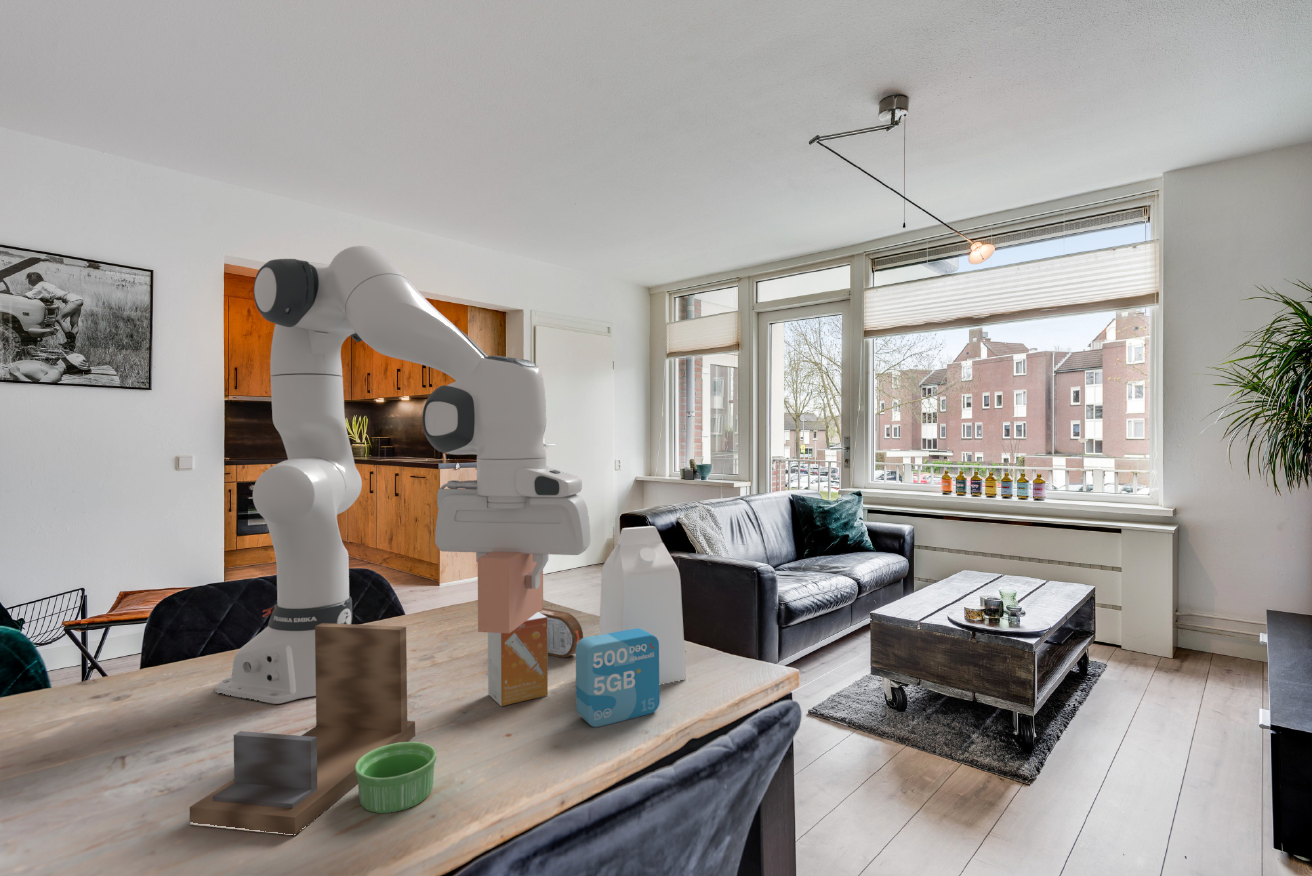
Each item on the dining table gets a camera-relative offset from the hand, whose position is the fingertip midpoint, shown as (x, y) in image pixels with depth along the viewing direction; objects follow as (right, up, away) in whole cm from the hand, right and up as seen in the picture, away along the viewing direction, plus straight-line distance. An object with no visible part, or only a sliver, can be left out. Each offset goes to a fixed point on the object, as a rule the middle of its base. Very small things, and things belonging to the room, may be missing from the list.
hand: (512, 587), depth 86 cm
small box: (-4, -23, +22) cm, 32 cm away
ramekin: (-12, -23, -8) cm, 27 cm away
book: (0, -4, 0) cm, 4 cm away
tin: (-2, -23, +43) cm, 49 cm away
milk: (+16, -23, +31) cm, 41 cm away
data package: (+13, -23, +14) cm, 30 cm away
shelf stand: (-24, -23, -2) cm, 33 cm away
